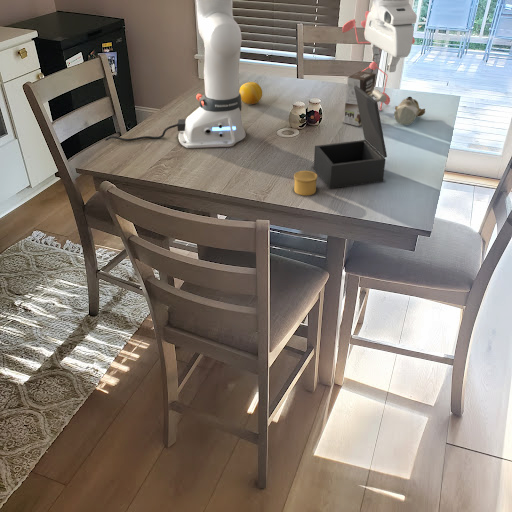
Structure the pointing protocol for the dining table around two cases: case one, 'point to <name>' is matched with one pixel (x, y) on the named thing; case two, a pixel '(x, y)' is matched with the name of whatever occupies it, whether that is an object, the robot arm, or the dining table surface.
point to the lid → (371, 118)
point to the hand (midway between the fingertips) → (383, 66)
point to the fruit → (250, 93)
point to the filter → (305, 182)
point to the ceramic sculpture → (407, 111)
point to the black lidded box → (349, 163)
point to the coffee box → (351, 107)
